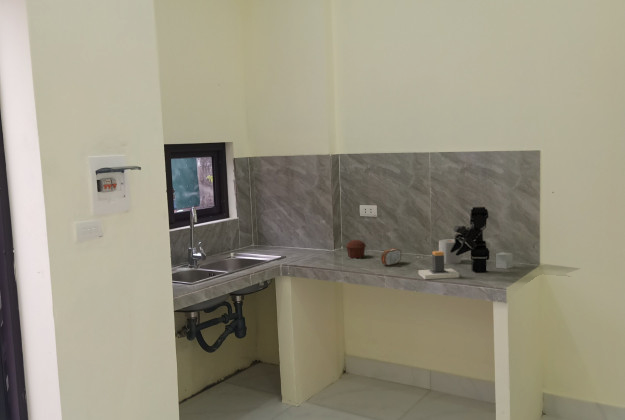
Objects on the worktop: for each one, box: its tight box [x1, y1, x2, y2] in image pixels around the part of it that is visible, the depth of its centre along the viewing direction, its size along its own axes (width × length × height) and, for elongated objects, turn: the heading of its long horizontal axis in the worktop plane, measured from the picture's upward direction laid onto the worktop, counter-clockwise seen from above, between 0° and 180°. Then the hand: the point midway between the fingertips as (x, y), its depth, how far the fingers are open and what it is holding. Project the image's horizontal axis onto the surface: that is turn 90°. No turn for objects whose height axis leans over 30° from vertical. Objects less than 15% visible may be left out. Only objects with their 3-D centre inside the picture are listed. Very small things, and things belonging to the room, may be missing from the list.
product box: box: [495, 251, 514, 270], centre depth 326 cm, size 6×6×7 cm
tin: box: [381, 247, 402, 266], centre depth 346 cm, size 15×3×8 cm, turn 134°
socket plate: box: [418, 268, 460, 280], centre depth 313 cm, size 17×12×2 cm
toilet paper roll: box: [438, 238, 462, 265], centre depth 346 cm, size 12×12×12 cm
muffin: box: [345, 239, 367, 259], centre depth 371 cm, size 12×11×10 cm
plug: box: [432, 250, 445, 273], centre depth 312 cm, size 4×4×12 cm
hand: (453, 253), depth 313 cm, fingers open, 9 cm apart
